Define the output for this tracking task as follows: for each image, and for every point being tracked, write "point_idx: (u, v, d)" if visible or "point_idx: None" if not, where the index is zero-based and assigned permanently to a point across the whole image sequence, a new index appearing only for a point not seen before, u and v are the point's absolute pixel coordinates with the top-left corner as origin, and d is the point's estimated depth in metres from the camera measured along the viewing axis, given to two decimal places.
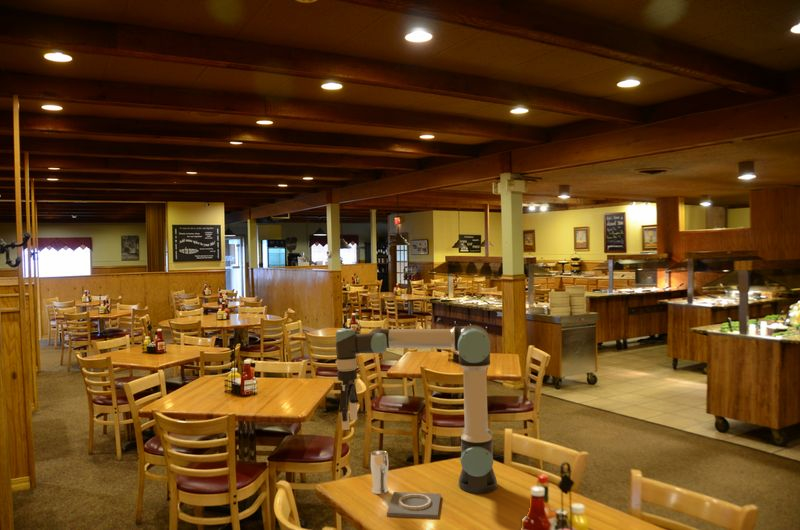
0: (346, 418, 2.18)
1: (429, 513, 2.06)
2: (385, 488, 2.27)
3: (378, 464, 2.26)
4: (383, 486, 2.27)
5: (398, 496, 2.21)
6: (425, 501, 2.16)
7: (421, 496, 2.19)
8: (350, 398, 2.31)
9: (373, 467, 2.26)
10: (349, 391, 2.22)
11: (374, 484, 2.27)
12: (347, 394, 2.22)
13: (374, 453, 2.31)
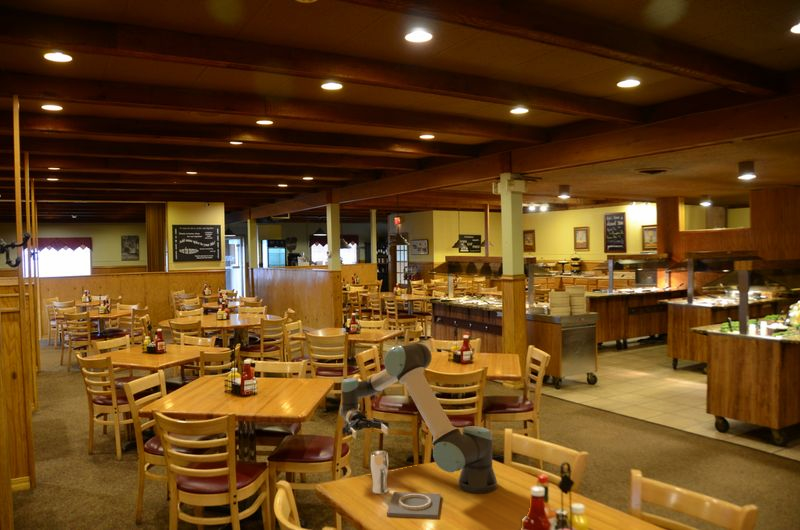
0: (350, 430, 2.39)
1: (429, 513, 2.06)
2: (385, 488, 2.27)
3: (378, 464, 2.26)
4: (383, 486, 2.27)
5: (398, 496, 2.21)
6: (425, 501, 2.16)
7: (421, 496, 2.19)
8: (377, 427, 2.48)
9: (373, 467, 2.26)
10: (354, 422, 2.49)
11: (374, 484, 2.27)
12: None
13: (374, 453, 2.31)
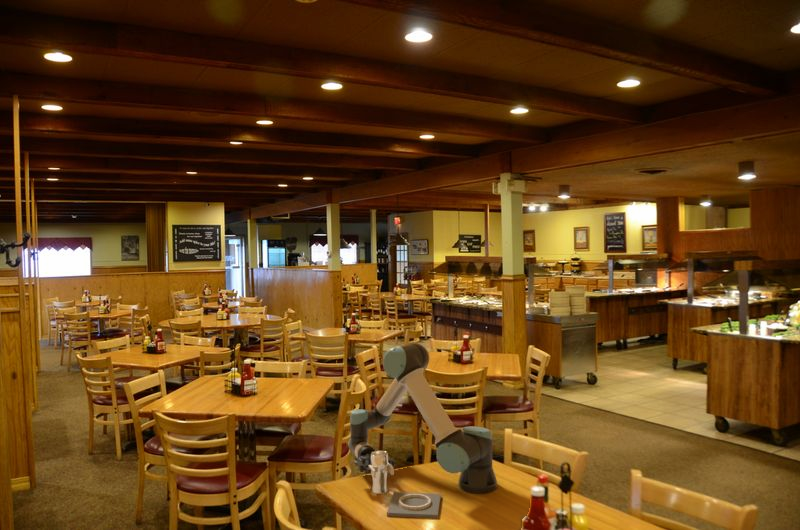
0: (368, 468, 2.27)
1: (429, 513, 2.06)
2: (385, 488, 2.27)
3: (378, 464, 2.26)
4: (383, 486, 2.27)
5: (398, 496, 2.21)
6: (425, 501, 2.16)
7: (421, 496, 2.19)
8: None
9: (373, 467, 2.26)
10: (365, 458, 2.37)
11: (374, 484, 2.27)
12: (365, 460, 2.36)
13: (374, 453, 2.31)
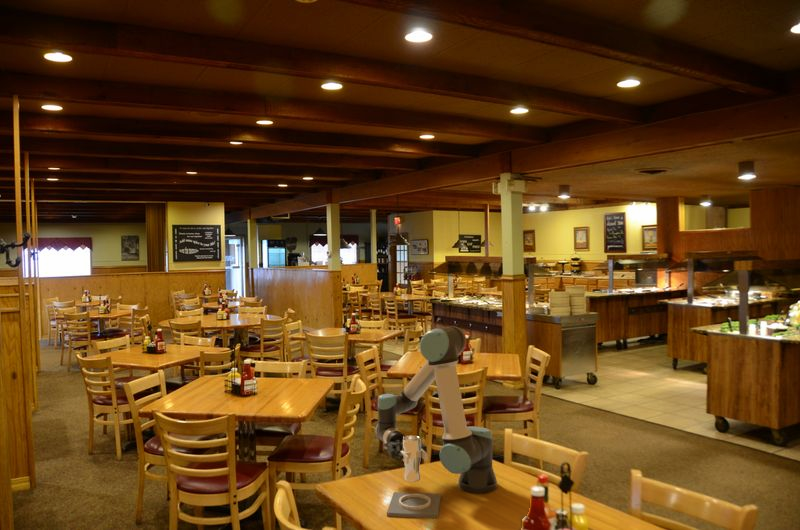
0: (400, 454, 2.13)
1: (429, 513, 2.06)
2: (418, 475, 2.14)
3: (411, 450, 2.12)
4: (416, 473, 2.13)
5: (398, 496, 2.21)
6: (425, 501, 2.16)
7: (421, 496, 2.19)
8: None
9: (405, 453, 2.13)
10: None
11: (406, 471, 2.14)
12: None
13: (406, 438, 2.18)
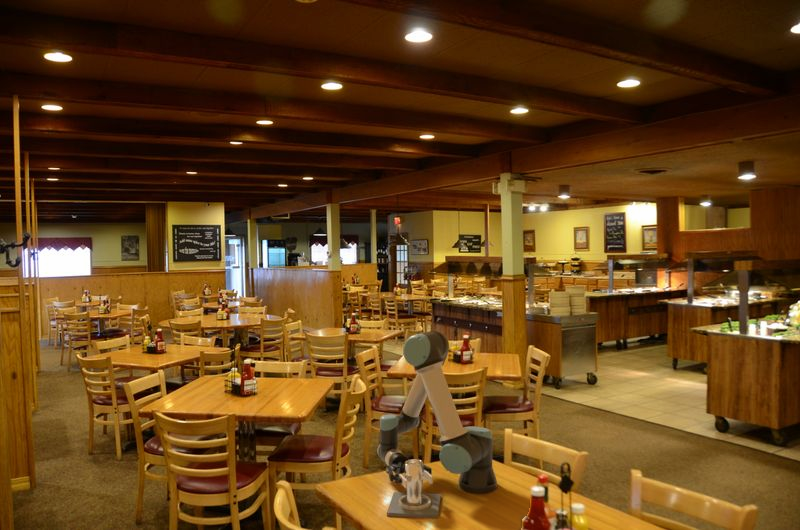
0: (399, 478, 2.13)
1: (429, 513, 2.06)
2: (420, 499, 2.14)
3: (413, 474, 2.12)
4: (418, 497, 2.13)
5: (398, 496, 2.21)
6: (425, 501, 2.16)
7: None
8: None
9: (408, 477, 2.12)
10: (397, 466, 2.23)
11: (408, 495, 2.14)
12: None
13: (408, 462, 2.17)
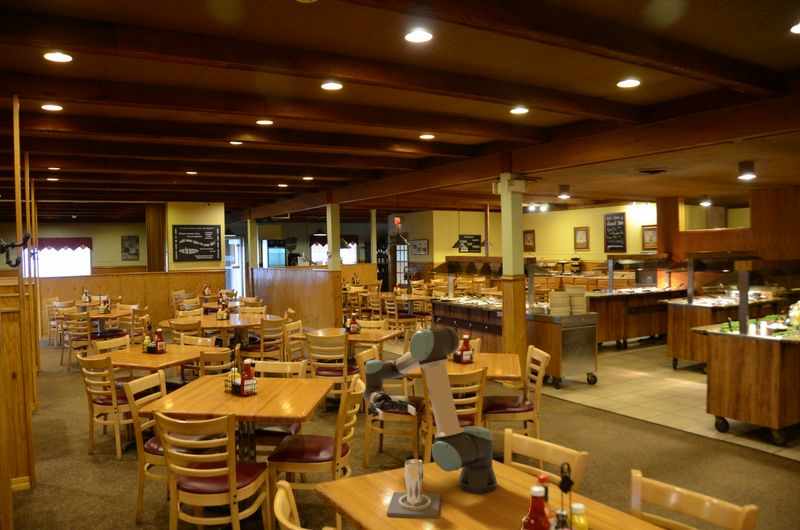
0: (376, 411, 2.31)
1: (429, 513, 2.06)
2: (420, 499, 2.14)
3: (413, 474, 2.12)
4: (418, 497, 2.13)
5: (398, 496, 2.21)
6: (425, 501, 2.16)
7: None
8: (404, 408, 2.40)
9: (408, 477, 2.12)
10: (379, 403, 2.41)
11: (408, 495, 2.14)
12: None
13: (408, 462, 2.17)
